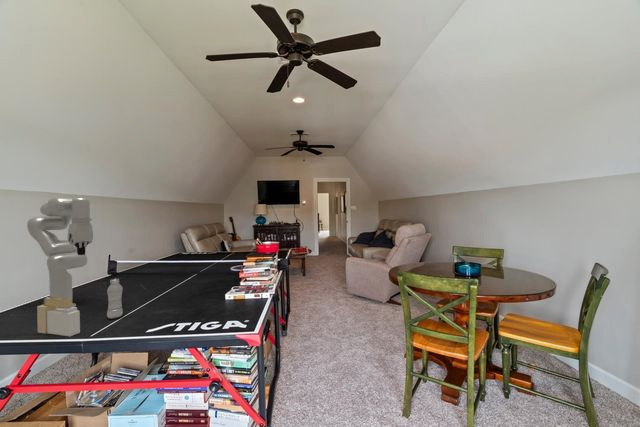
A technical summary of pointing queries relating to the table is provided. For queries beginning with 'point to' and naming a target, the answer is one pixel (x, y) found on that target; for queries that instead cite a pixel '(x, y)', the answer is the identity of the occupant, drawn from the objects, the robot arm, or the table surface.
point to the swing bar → (57, 301)
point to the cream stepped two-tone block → (58, 320)
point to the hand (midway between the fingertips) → (81, 254)
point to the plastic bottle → (114, 299)
